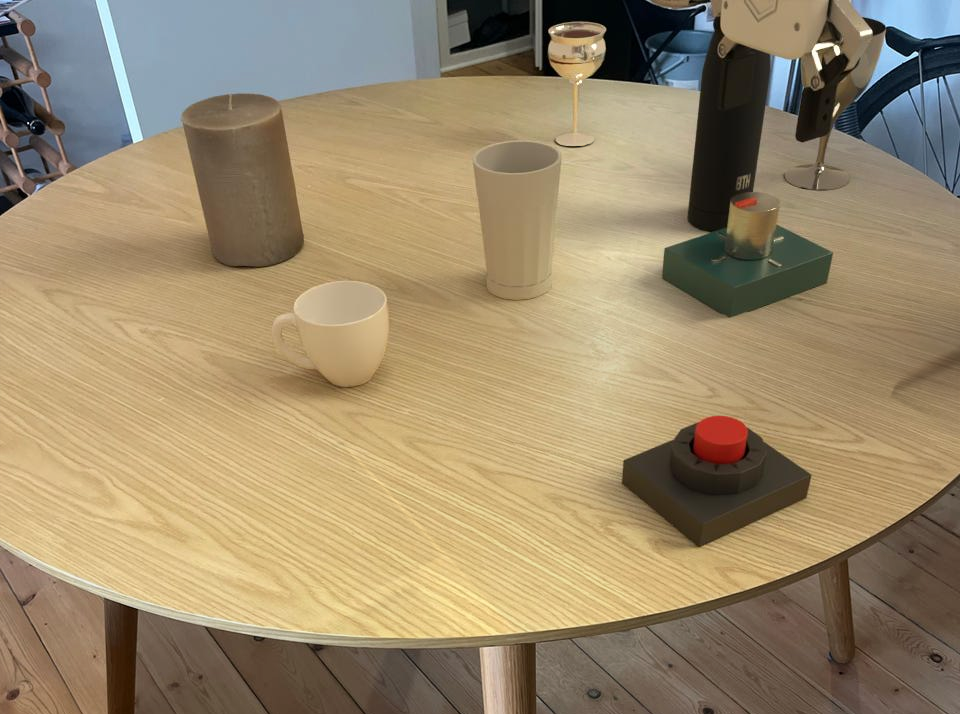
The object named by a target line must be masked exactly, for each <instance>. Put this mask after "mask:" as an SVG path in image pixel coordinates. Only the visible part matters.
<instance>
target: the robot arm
mask: <svg viewBox="0 0 960 714" xmlns="http://www.w3.org/2000/svg"><path fill="white" fill-rule="evenodd" d="M709 1H710V6H711V12H712V17H713V18H714V19H713V22H712V27H713V32H714V31H715V33H716V36H717V38H718V41H719V45H718V55H719V56H720V57H721V58H724V59H722V65H721V75H720V86H719V96H718V108H719V109H721V110H723V111H725V110H728V109H732V108H735V107H738V106H742V105H745V104H747V103H749V102H750V99H751V90H752V82H753V74H754V65H755V53H754V52H749V50H750V49H751V48H753V49H756V50H759V51H762V52H765V53H768V54H771V55H772V56H775V57H778V58H781V59H784V60H792V61H793V60H798V59H800V61H801V60H802V63H803V66H804V69H805V73H806V76H807V79H808V82H809V85H810V87H806V88H804V87H803V88H802V91H801V94H800V95H801V96H800V101H799V108H798V114H797V122H796V126H795V127H796V128H795V135H794V137H795V140H796V142H799V143H806V142H809V141H813V140H815V139H820V137H822V136H825V135H827V134H828V133H829V131H830V126H831V120H832V115H833V109H834V103H835V97H836V92H837V86H838V84H841V83H843V82H844V81H845V80H846V77H847V75H848V74H850V73H851V72H852V71H853V70H854V69H855V68H856V67H857V66H858V64H859V61H860V57H861V56H862V55H863V53H864V51H865V50H866V48H867V46H868V45H869V43H870V41H871V39H872V36H873V33H872V30H871V28H870V27H869V26H868V24H867V23H866V22H865V21H864V19H863V18H862V17H863V16H862V15H861V14H860V13H859V12H858V10H857V9H856V8H855V7H854V5H853V4H852V0H709ZM842 40H844V41H843V45H842V47H841V51H840V50H839V45H840V44H841V42H842ZM819 55H823V56H824V59H825V63H826V66H825V67H824V68H822V66H821V63H820V60H819V57H818V56H819Z"/></svg>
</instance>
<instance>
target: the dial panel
mask: <svg viewBox="0 0 960 714" xmlns="http://www.w3.org/2000/svg"><path fill="white" fill-rule="evenodd" d="M726 232H727V228H724V229H720V230H717V231H714V232H712V231H710V232H708V233H706V234H703V235H701V236H697V237H694V238H690V239H687V240H684V241H682V242H679V243H675V244H672V245H670V246H667V247H664V249H663V261H662V271H661V278H662V279H663V280H665V281H666V282H668V283H669V284H671V285H673V286H675V287H677V288H678V289H680V290H682V291H683V292H685V293H686V294H688V295H690V296H692V297H693V298H695V299H696V300H698V301H700V302H702V303H703V304H705V305H707V306H708V307H710V308H711V309H713V310H715V311H717V312H718V313H720V314H723V315H724V316H726V317H727V318H729V319H730V318H733V317H736V316H739V315H741V314H745V313H749V312H752V311H754V310H757V309H759V308H763V307H765V306H768V305H771V304H773V303H776V302H779V301H781V300H784V299H787V298H789V297H790V298H791V297H792V296H795V295H798V294H800V293H803V292H806V291H808V290H811V289H814V288H817V287H819V286H822V285H825V284H827V283H828V280H829V276H830V270H831V265H832V261H833V256H834V252H833V251H831V250H829V249H827V248H826V247H823V246H822V245H819V244H817V243H815V242H814V241H811V240H809V239H807V238H805V237H803V236H801V235H799V234H797V233H795V232H793V231H791V230H789V229H788V228H784V227H783V226H781V225H779V224H778V223H777V224H776V230H775V236H774V242H773V248H772V252H771V254H770V255H769V256H767V257H765V258H762V259H756V260H744V259H738V258H735V257H732V256H730V255H729V254H727V253H726V252H725V249H724V247H725V240H726Z"/></svg>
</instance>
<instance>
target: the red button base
mask: <svg viewBox="0 0 960 714" xmlns="http://www.w3.org/2000/svg"><path fill="white" fill-rule="evenodd" d="M699 422H700V421H698V422H695V423H693V424H690V425H688V426H685V427H683V428H680V430H679V431H678V432H677V434H676V436H675V437H674V438H673V439H671V440H669V441H666V442H664V443H662V444H659V445H657V446H655V447H652V448H650V449H647V450H644V451H642V452H640V453H637V454H635V455H632V456H630V457H627V458H625V459H623V461H622V474H621V475H622V476H621V484H622V485H623V486H624V487H626V489H628V490H629V491H631V493H632V494H634V495H635V496H636V497H638V499H640V501H642V502H643V503H644V504H646V505H647V506H648V507H649V508H651V509H652V510H653V511H654V512H656V513H657V515H659V516H660V517H661V518H662V519H664V520H665V521H666V522H668V523H669V525H671V526H672V527H673V528H674V529H676V530H677V531H678V532H679V533H681V534H682V535H683V536H684V537H686V539H688V540H689V541H690V542H691V543H693V544H694V545H695V546H696V547H697V548H702V547H704V546H706V545H709V544H711V543H713V542H714V541H717V540H719V539H721V538H723V537H725V536H727V535H730V534H732V533H734V532H736V531H738V530H741V529H743V528H746V527H748V526H749V525H751V524H753V523H756V522H758V521H760V520H762V519H765V518H767V517H768V516H771V515H773V514H775V513H778V512H779V511H782V510H784V509H786V508H789V507H791V506H793V505H795V504H797V503H799V502H801V501H803V500H806V499H807V497H808V492H809V488H810V485H811V481H812V480H811V479H812V475H813V474H812V473H810V472H809V471H807V470H806V469H804V468H803V467H801V466H800V465H798V464H797V463H796V462H794V461H793V460H791V459H790V458H788V457H787V456H786V455H784V454H782V453H781V452H780V451H778V450H777V449H775V448H774V447H773V446H771V445H770V444H768V443H767V442H765V441H764V439H763V437H762V436H761V435H759V434H757V432H754V431H753V430H752V429H750V428H749V427H747V430H748V435H747V441H746V447H745V453H744V455H743V457H742V458H741V459H740V460H739V461H737V462H735V463H732V464H714V463H711V462H707V461H703V460H701V459H699V458H698V457H697V456H696V455H695V453H694V450H693V446H694V438H695V430H696V426H697V424H698V423H699Z"/></svg>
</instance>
